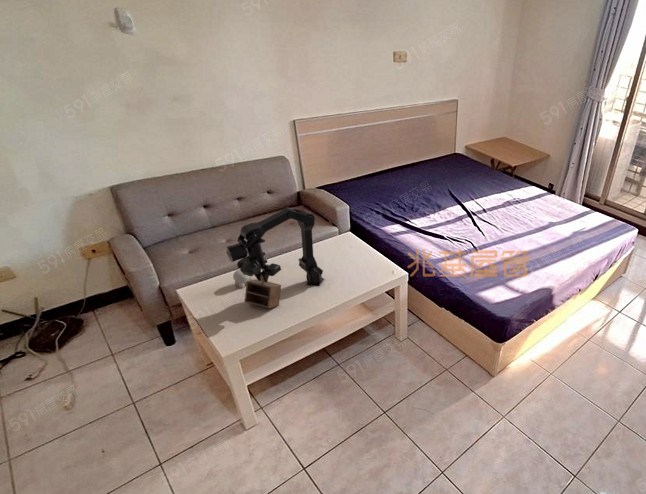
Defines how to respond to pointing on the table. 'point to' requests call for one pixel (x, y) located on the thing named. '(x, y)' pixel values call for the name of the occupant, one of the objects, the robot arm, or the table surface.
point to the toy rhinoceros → (240, 278)
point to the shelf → (262, 293)
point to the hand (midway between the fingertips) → (263, 281)
